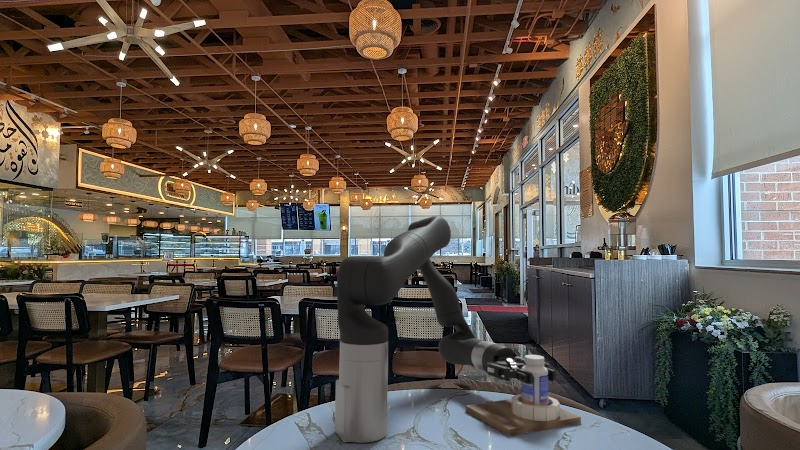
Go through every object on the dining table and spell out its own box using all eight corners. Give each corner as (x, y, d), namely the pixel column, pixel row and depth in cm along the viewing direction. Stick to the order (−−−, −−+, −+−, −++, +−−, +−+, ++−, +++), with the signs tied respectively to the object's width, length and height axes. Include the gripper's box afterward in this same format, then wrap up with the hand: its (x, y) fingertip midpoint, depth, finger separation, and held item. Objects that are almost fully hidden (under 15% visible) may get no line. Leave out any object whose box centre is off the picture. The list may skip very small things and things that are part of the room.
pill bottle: (545, 400, 96) (544, 354, 97) (551, 408, 91) (550, 360, 91) (519, 398, 97) (519, 353, 97) (523, 407, 91) (523, 359, 92)
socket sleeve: (532, 423, 87) (532, 410, 87) (502, 408, 96) (502, 396, 96) (569, 417, 91) (569, 404, 91) (537, 403, 99) (537, 391, 100)
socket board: (509, 436, 84) (509, 429, 84) (465, 411, 97) (465, 405, 97) (580, 423, 91) (580, 416, 91) (531, 401, 105) (531, 396, 105)
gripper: (468, 345, 104) (515, 362, 89) (517, 341, 110) (569, 356, 95) (468, 378, 104) (515, 400, 89) (518, 372, 110) (570, 392, 94)
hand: (543, 377), depth 92 cm, fingers closed on pill bottle, 5 cm apart
